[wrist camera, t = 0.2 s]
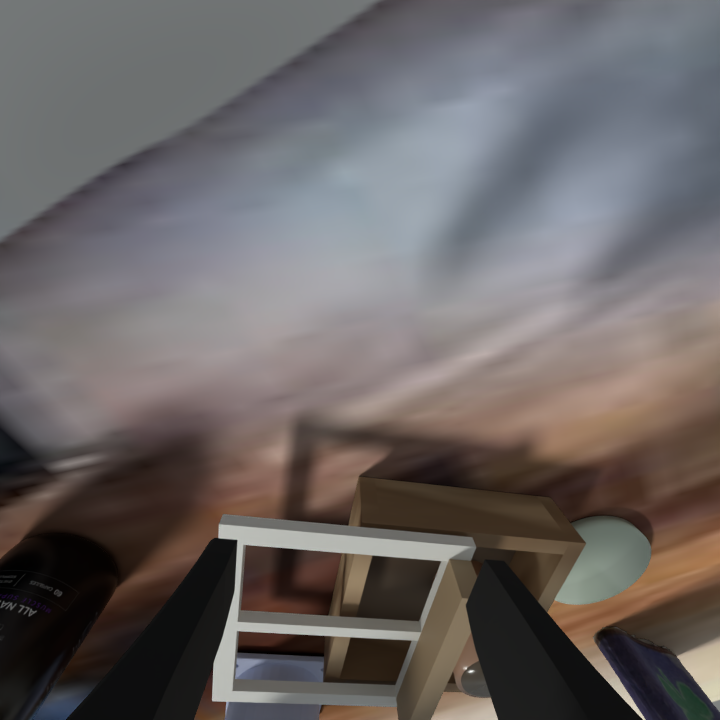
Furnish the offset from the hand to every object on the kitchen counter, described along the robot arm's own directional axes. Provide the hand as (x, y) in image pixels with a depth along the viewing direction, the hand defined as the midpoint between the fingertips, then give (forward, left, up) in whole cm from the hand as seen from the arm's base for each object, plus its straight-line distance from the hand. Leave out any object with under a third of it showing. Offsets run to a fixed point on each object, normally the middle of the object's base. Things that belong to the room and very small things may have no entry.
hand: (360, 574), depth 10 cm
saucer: (-10, -19, -10) cm, 24 cm away
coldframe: (-12, -8, -10) cm, 18 cm away
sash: (-12, -1, -6) cm, 14 cm away
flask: (-20, -28, -10) cm, 36 cm away
